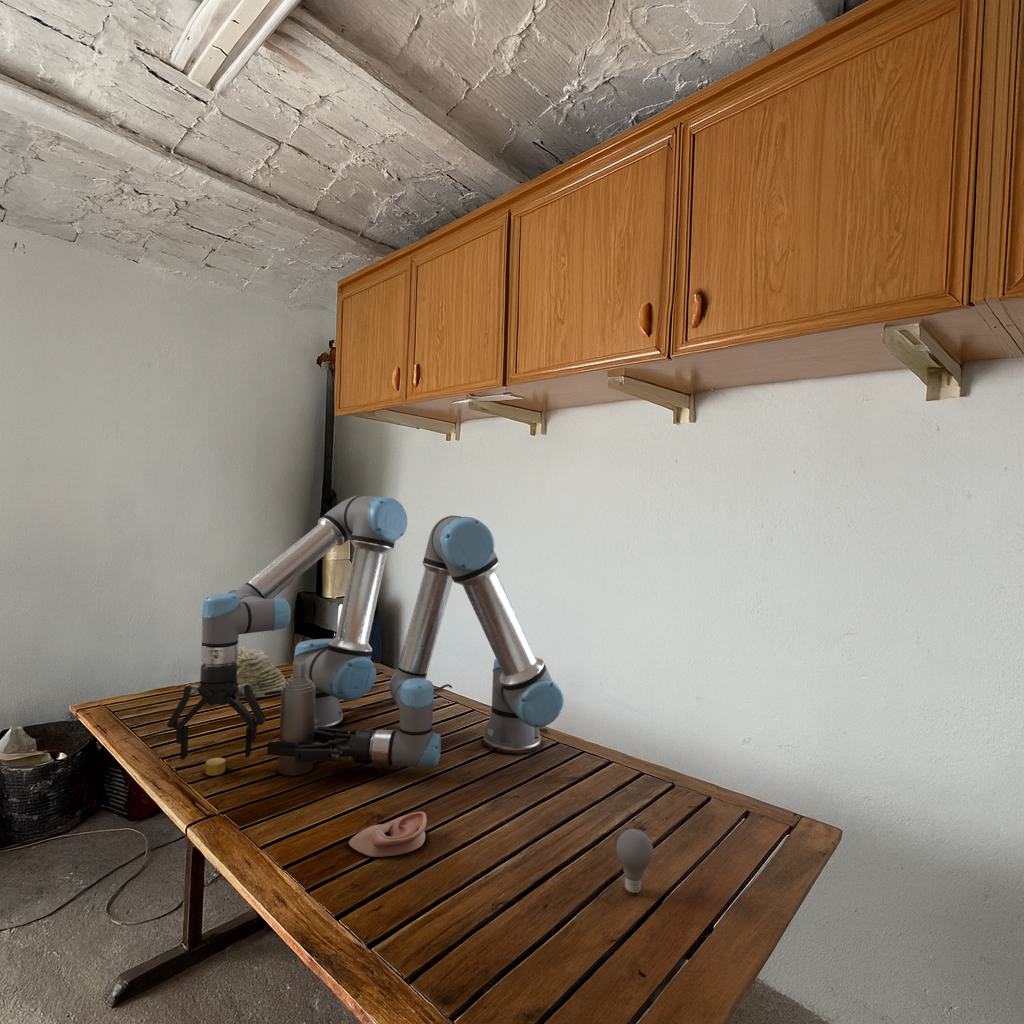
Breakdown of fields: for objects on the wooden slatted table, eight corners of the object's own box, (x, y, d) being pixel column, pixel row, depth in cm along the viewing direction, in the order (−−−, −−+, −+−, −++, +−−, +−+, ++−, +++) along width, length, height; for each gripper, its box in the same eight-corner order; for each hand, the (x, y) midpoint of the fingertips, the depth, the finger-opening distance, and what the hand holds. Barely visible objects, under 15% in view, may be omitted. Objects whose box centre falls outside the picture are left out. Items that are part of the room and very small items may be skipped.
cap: (201, 775, 141) (202, 764, 141) (210, 767, 145) (210, 757, 145) (220, 776, 141) (220, 765, 141) (228, 768, 145) (228, 757, 145)
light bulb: (610, 879, 108) (613, 822, 108) (644, 879, 109) (647, 822, 109) (619, 902, 102) (622, 840, 102) (655, 901, 103) (658, 840, 103)
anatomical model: (341, 830, 113) (368, 800, 124) (340, 851, 113) (367, 820, 124) (411, 841, 110) (433, 810, 122) (411, 863, 111) (432, 830, 122)
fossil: (218, 695, 195) (220, 647, 195) (278, 685, 208) (279, 640, 207) (228, 703, 189) (230, 653, 188) (289, 692, 201) (290, 645, 201)
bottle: (278, 763, 149) (282, 659, 149) (312, 760, 152) (316, 657, 151) (277, 777, 142) (281, 667, 142) (313, 773, 145) (317, 666, 144)
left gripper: (153, 668, 137) (150, 765, 137) (274, 666, 142) (271, 760, 142) (164, 659, 144) (162, 751, 145) (280, 658, 149) (277, 747, 150)
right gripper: (360, 782, 136) (255, 776, 137) (383, 745, 156) (292, 740, 157) (361, 748, 136) (256, 741, 137) (384, 715, 156) (293, 710, 157)
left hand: (216, 756), depth 143 cm, fingers open, 13 cm apart
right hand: (275, 741), depth 147 cm, fingers closed on bottle, 8 cm apart
